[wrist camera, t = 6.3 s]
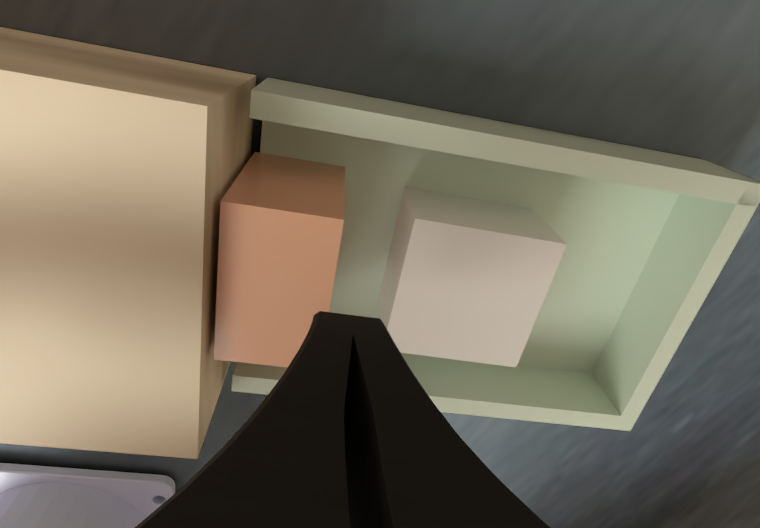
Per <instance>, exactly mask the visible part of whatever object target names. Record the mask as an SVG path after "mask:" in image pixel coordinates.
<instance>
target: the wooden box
mask: <svg viewBox="0 0 760 528" xmlns="http://www.w3.org/2000/svg"><path fill="white" fill-rule="evenodd" d="M255 87H256V75H252V74H247V73H242V72H237V71H231V70H226V69H221V68H215V67H210V66H205V65H199V64H194V63H189V62H184V61H178V60H173V59H168V58H162V57H157V56H152V55H146V54H141V53H136V52H131V51H125V50H120V49H115V48H109V47H104V46H99V45H94V44H88V43H83V42H78V41H72V40H67V39H62V38H56V37H51V36H46V35H41V34H35V33H30V32H25V31H19V30H14V29H9V28H4V27H0V443H4V444H16V445H29V446H41V447H54V448H66V449H79V450H91V451H104V452H116V453H129V454H141V455H154V456H166V457H178V458H191V459H198V457H199V454H200V451H201V448H202V445H203V442H204V439H205V436H206V433H207V430H208V427H209V424H210V421H211V418H212V415H213V412H214V409H215V406H216V404H217V401H218V398H219V395H220V392H221V389H222V386H223V383H224V380H225V377H226V374H227V371H228V368H229V365H230V362H231V361H223V360H214V345H215V321H216V297H217V273H218V249H219V225H220V201H221V200H222V198H223V197H224V195H225V194H226V192H227V191H228V190H229V188H230V187H231V185H232V184H233V182H234V181H235V179H236V178H237V177H238V175H239V174H240V172H241V171H242V169H243V168H244V166H245V165H246V164H247V162H248V161H249V159H250V158H251V146H252V132H253V118H249V115H250V99H251V90H252V89H253V88H255Z"/></svg>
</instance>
